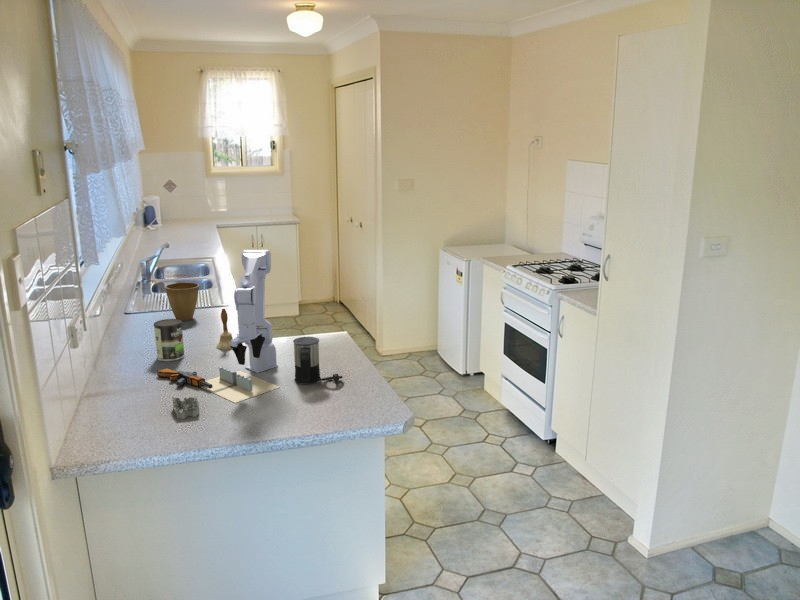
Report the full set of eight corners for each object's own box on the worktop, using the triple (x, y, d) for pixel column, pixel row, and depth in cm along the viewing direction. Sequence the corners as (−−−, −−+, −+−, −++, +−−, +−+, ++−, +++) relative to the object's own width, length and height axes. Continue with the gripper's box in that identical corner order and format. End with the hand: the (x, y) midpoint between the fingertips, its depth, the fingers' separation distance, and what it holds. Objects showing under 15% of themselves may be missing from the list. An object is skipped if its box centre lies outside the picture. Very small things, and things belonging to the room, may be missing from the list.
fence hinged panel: (233, 384, 227) (232, 372, 226) (236, 383, 228) (235, 371, 227) (249, 391, 221) (249, 379, 220) (252, 390, 222) (252, 378, 221)
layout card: (239, 370, 241) (239, 370, 241) (279, 387, 226) (279, 386, 225) (195, 384, 228) (195, 383, 228) (235, 403, 213) (235, 402, 213)
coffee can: (190, 354, 259) (187, 320, 256) (173, 362, 250) (170, 327, 246) (168, 351, 263) (165, 317, 259) (151, 359, 253) (147, 324, 250)
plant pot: (183, 324, 299) (180, 290, 295) (161, 320, 306) (158, 286, 302) (208, 316, 311) (205, 284, 307) (186, 312, 318) (183, 280, 314)
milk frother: (292, 377, 235) (290, 337, 232) (334, 371, 241) (333, 332, 237) (300, 391, 222) (299, 350, 219) (345, 385, 228) (344, 344, 224)
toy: (153, 377, 235) (178, 370, 242) (196, 395, 218) (221, 386, 226) (152, 371, 234) (177, 363, 242) (195, 388, 218) (220, 379, 225)
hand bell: (225, 351, 263) (222, 312, 259) (212, 347, 268) (209, 309, 264) (241, 345, 270) (239, 308, 266) (228, 342, 274) (225, 305, 270)
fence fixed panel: (235, 383, 228) (234, 371, 227) (232, 384, 228) (232, 372, 227) (222, 377, 234) (221, 366, 233) (220, 378, 233) (219, 367, 232)
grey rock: (172, 408, 210) (171, 396, 209) (196, 404, 213) (195, 392, 212) (175, 420, 201) (174, 408, 200) (201, 416, 203) (200, 404, 202)
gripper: (251, 315, 229) (254, 352, 232) (222, 326, 216) (225, 365, 220) (267, 318, 225) (269, 355, 229) (239, 329, 213) (241, 368, 216)
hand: (249, 360), depth 224 cm, fingers open, 7 cm apart
